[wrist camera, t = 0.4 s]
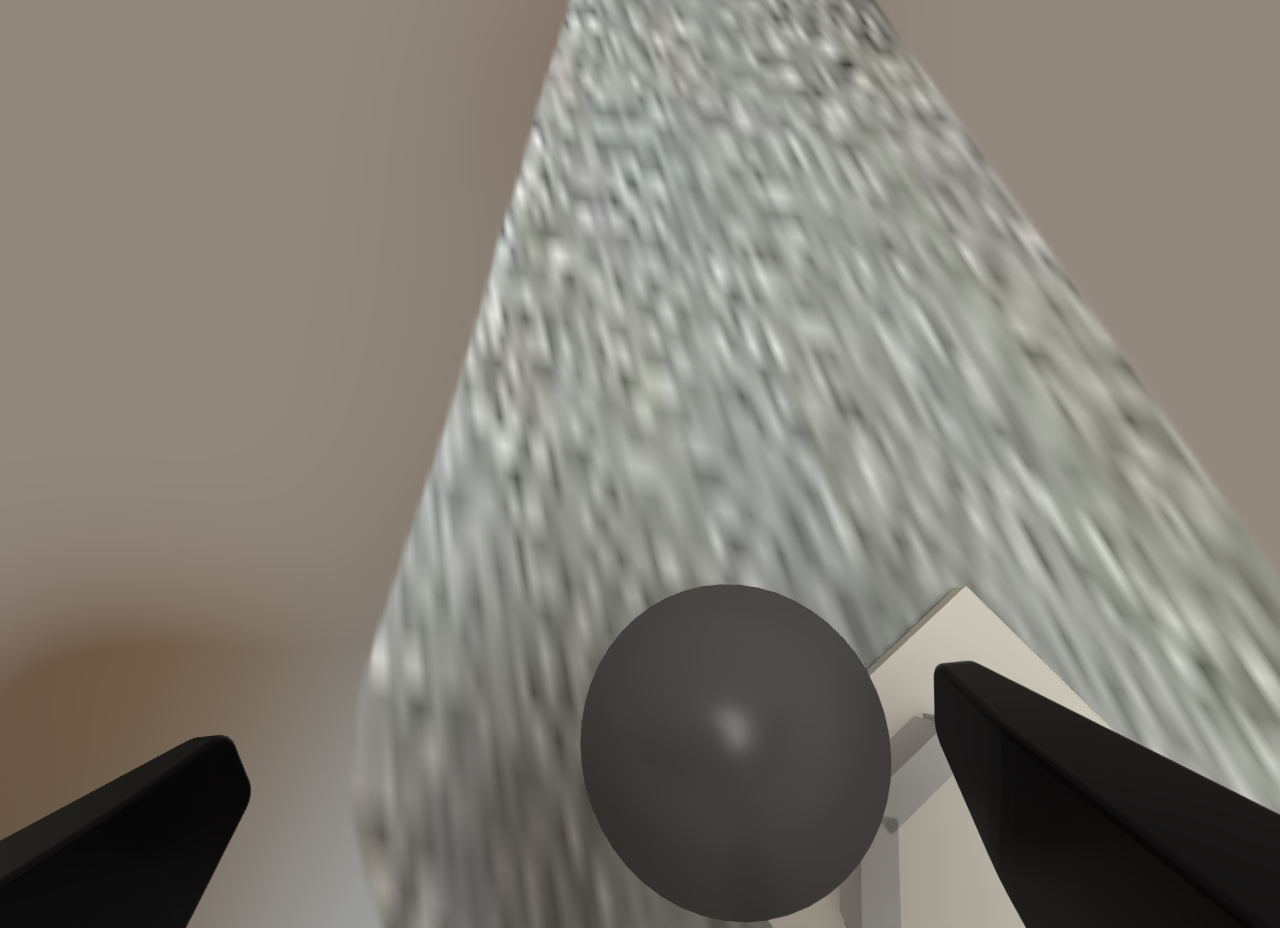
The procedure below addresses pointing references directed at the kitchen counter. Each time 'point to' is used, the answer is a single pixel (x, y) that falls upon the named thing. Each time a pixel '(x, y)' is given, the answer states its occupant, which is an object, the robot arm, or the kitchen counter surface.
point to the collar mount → (932, 786)
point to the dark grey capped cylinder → (736, 753)
